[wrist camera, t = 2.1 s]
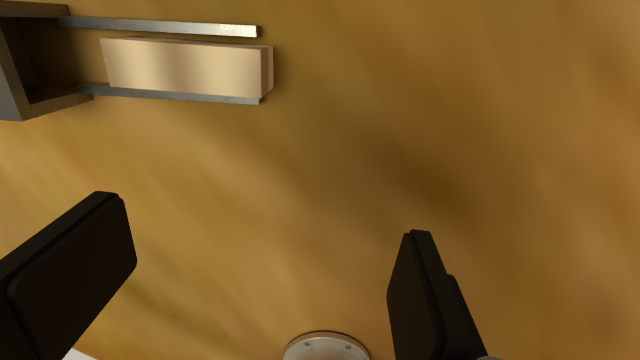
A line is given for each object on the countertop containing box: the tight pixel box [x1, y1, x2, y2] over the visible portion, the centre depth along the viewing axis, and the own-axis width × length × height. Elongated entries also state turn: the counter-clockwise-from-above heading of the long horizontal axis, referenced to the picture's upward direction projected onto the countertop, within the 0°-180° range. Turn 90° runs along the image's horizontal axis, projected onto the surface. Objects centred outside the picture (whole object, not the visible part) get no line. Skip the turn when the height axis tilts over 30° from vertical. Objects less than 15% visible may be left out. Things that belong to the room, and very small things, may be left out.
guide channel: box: [56, 16, 263, 105], centre depth 27 cm, size 16×6×2 cm, turn 87°
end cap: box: [0, 0, 93, 121], centre depth 25 cm, size 6×8×8 cm
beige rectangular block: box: [99, 36, 274, 98], centre depth 26 cm, size 12×4×5 cm, turn 86°
